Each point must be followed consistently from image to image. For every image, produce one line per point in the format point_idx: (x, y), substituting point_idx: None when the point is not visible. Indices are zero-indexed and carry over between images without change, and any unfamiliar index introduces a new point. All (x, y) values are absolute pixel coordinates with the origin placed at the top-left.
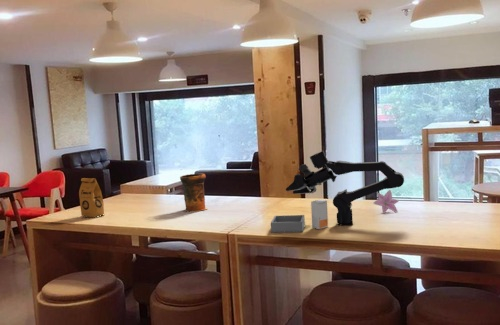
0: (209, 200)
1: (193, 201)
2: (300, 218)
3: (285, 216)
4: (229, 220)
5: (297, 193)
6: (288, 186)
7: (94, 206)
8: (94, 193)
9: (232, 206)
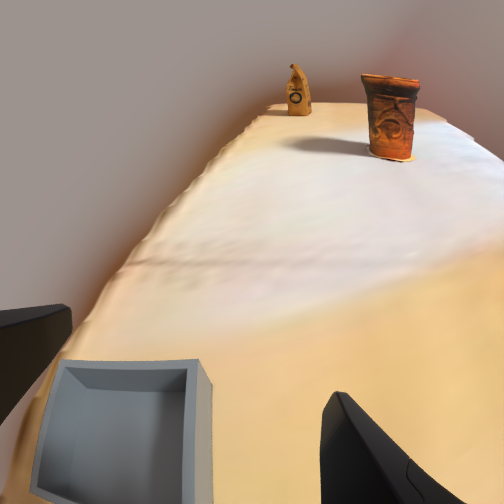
0: (466, 154)
1: (372, 132)
2: None
3: (186, 421)
4: (299, 219)
5: (322, 466)
6: (18, 310)
7: (288, 100)
8: (296, 84)
9: (456, 186)
